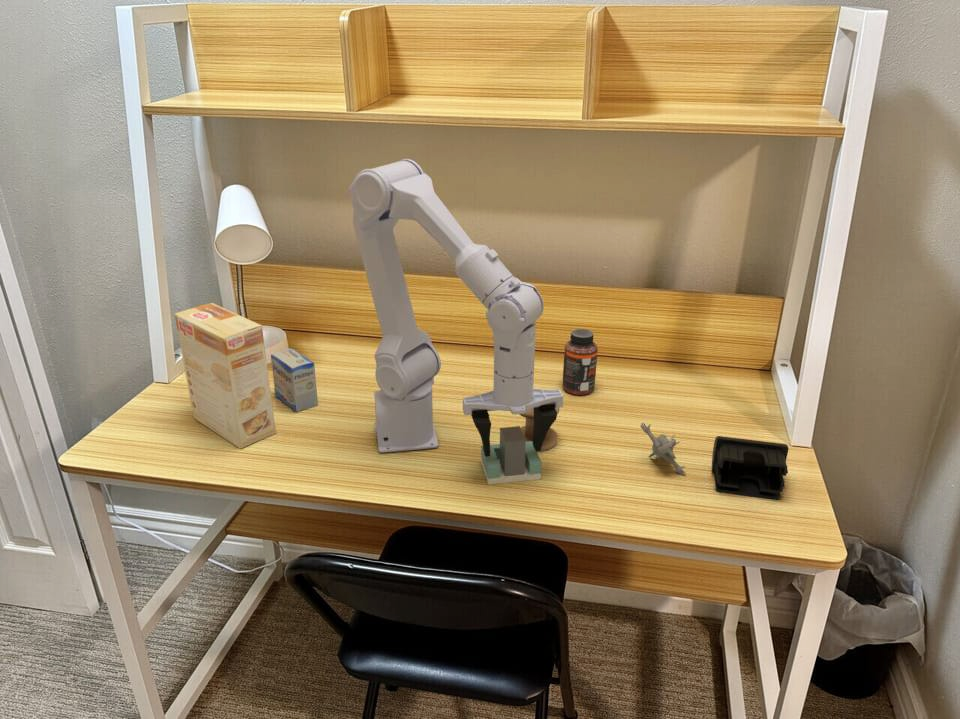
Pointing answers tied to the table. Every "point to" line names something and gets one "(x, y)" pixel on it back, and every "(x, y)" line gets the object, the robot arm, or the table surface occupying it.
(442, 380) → the table surface
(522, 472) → the plug
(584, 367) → the supplement bottle
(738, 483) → the end cap
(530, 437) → the bobbin
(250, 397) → the coffeecake box
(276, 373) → the medicine box
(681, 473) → the grey animal figure
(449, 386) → the table surface
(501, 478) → the notch board
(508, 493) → the table surface
